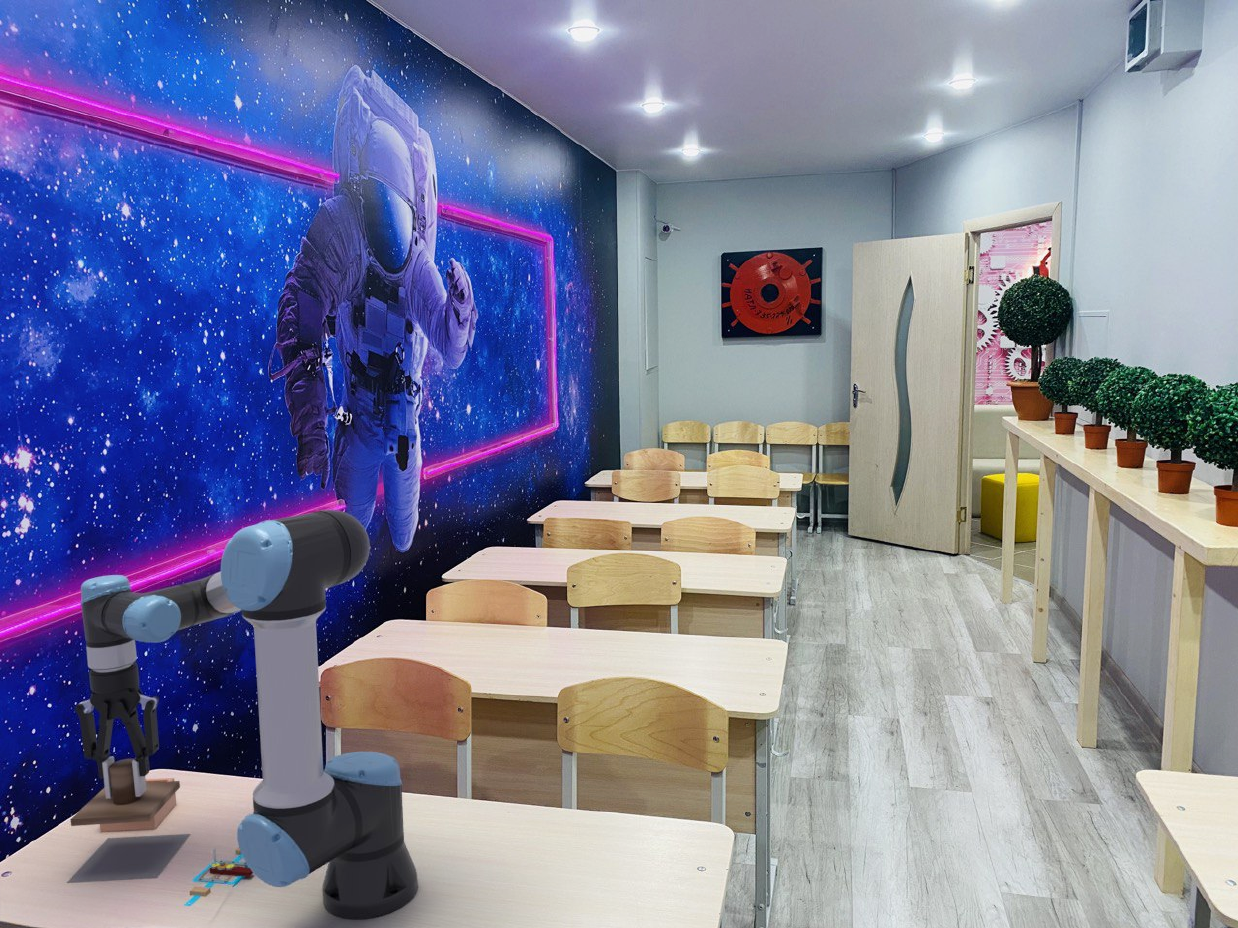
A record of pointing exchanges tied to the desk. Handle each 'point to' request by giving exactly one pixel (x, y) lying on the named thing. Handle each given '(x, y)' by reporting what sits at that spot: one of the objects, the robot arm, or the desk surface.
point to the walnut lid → (125, 799)
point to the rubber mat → (130, 858)
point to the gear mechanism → (220, 869)
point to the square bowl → (145, 824)
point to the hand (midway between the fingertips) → (126, 793)
